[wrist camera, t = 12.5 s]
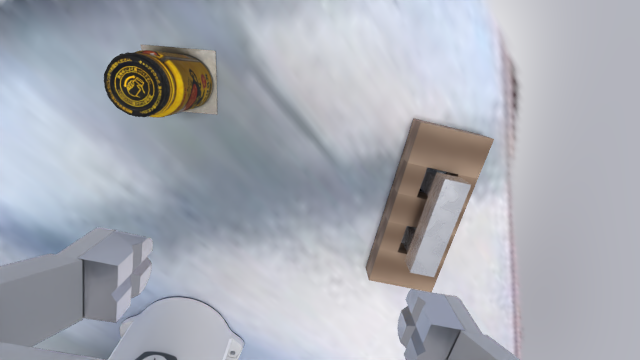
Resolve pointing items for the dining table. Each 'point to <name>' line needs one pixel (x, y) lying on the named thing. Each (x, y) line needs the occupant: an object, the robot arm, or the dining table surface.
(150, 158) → the dining table surface
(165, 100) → the condiment
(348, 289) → the dining table surface
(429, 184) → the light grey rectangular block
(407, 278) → the brown wooden block
